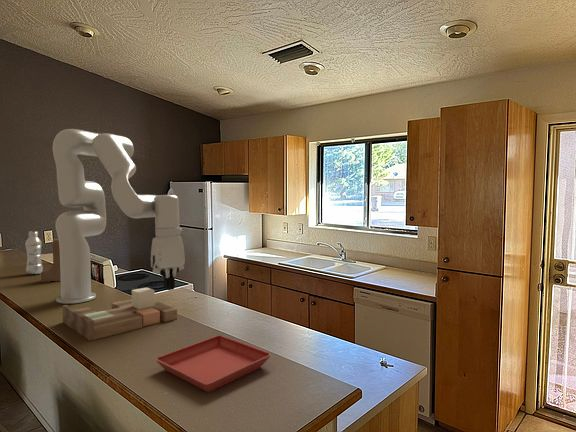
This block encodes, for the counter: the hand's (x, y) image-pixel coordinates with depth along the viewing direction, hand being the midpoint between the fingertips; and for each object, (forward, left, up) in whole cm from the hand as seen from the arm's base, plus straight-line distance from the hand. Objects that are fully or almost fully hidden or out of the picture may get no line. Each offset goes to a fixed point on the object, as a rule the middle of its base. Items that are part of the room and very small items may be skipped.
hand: (169, 289), depth 130 cm
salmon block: (+7, -11, -7) cm, 14 cm away
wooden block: (-76, -13, -7) cm, 77 cm away
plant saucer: (+46, -16, -8) cm, 50 cm away
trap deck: (0, -15, -7) cm, 17 cm away
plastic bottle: (-98, -15, -7) cm, 99 cm away
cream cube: (-1, -9, -4) cm, 10 cm away
